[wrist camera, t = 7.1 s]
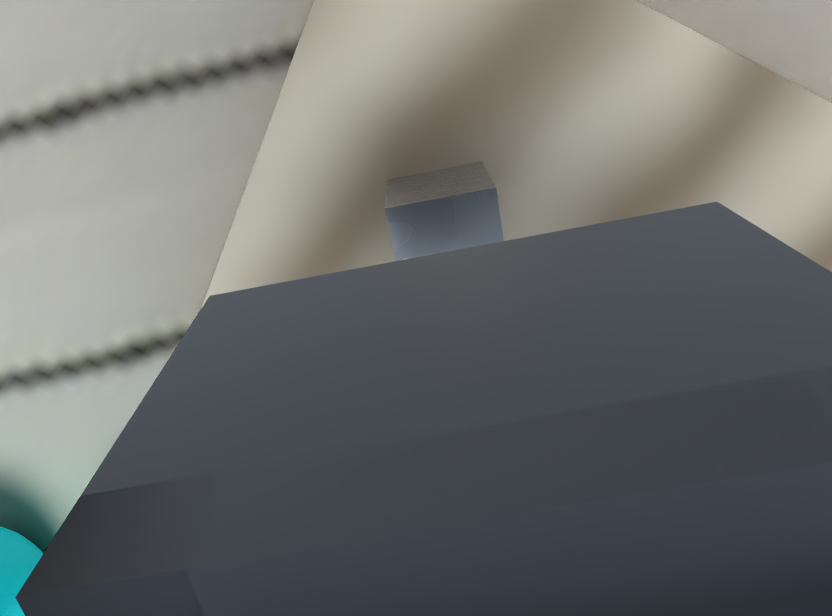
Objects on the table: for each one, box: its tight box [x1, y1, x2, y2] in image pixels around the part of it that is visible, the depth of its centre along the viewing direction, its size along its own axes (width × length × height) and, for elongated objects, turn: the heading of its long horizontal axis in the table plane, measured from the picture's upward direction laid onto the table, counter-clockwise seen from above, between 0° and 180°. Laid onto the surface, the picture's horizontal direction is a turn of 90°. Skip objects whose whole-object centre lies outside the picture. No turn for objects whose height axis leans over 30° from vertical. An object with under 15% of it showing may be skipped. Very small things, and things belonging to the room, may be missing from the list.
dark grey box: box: [15, 202, 832, 616], centre depth 8 cm, size 6×6×5 cm
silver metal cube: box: [385, 161, 504, 261], centre depth 21 cm, size 3×3×4 cm
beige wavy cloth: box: [201, 0, 832, 309], centre depth 24 cm, size 24×16×2 cm, turn 66°
